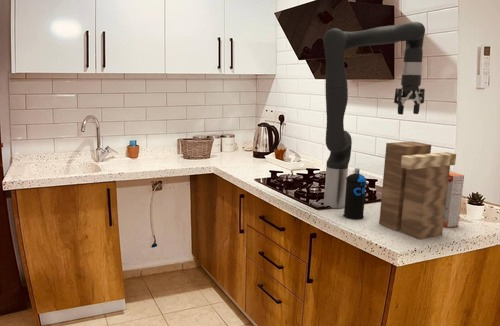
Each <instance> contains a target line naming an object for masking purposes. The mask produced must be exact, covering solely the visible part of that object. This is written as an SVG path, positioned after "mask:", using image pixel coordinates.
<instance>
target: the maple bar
mask: <svg viewBox="0 0 500 326" xmlns="http://www.w3.org/2000/svg"><path fill="white" fill-rule="evenodd" d="M456 160H457V154H456V153H453V152H447V151H445V152H437V153H436V152H435V153H430V154H419V155H406V156H402V160H401V167H402V168H406V169H419V168H429V167H440V166H450V167H451V166H455V165H456Z"/></svg>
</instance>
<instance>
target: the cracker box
mask: <svg viewBox="0 0 500 326" xmlns="http://www.w3.org/2000/svg"><path fill="white" fill-rule="evenodd" d="M464 182H465V175H464V174H461V173H457V172H454V171H451V170H450V172H449V180H448V189H447V197H446V206H445V214H444V223H443V228H454V227H459V223H460V214H461V205H462V198H463V189H464Z"/></svg>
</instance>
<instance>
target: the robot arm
mask: <svg viewBox="0 0 500 326" xmlns="http://www.w3.org/2000/svg"><path fill="white" fill-rule="evenodd" d="M424 25H425V24H423V23H422V22H420V21H413V22H407V23H401V24H396V25H395V24H392V25H386V26H385V25H383V26H377V27H373V28H369V29H363V30H358V31H344V30H341V29H340V28H337V27H335V28H331V29H328V30H327V31H326V33H325V34H324V36H323V49H324V54H325V55H324V56H325V84H324V85H325V108H326V109H325V111H326V129H325V145H326V146H325V147H326V148H327V150H328V151H329V152H330V153H329V156H328V158H327V160H326V167H325V168H326V169H325V170H326V171H325V183H324V194H323V195H324V196H323V207H327V206H330V207H331V209H342V208H344V207H345V194H346V178H347V177H348V171H349V170H348V169H349V163H350V161H351V156H352V155H351V153H352V143H353V138H352V136H351V134H350V133H349V131H347V130H345V129H344V128H345V127H344V119H345V118H344V117H345V113H346V109H347V105H348V101H349V98H348V97H349V92H348V91H349V87H348V79H347V74H346V73H347V72H346V68H345V51H346V50H349V49H352V48H358V47H364V46H365V47H367V46H376V45H377V46H378V45H389V44H395V43H399V42H405V49H404V53H403V64H402V70H401V80H400V81H401V83H400V85H401V86H402V87H401V88H399V87H397V88H395V93H394V101H393V103H394V104H396V105H397V115H404V111H405V110H404V108H405V105H404V104H405V103H406V102H407V101H408V100H411V101H412V102H413V112H412V113H413V114H414V115H418V114H419V113H420V106H421V105H422V104H424V103H425V88H420V86H421V85H422V84H421V83H422V73H423V55H424V54H423V52H424V51H423V46H424V39H425V33H426V28H425V26H424ZM330 207H329V208H330Z"/></svg>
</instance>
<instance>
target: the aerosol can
mask: <svg viewBox="0 0 500 326" xmlns="http://www.w3.org/2000/svg"><path fill="white" fill-rule="evenodd" d="M367 181H368V180H367V178H366V177H365V176H364V175H363V174H361V173H360V168H358V167H356V168H354V171H353V173H351V174H349V175H347V178H346V194H345V207H343V208H344V209H343V217H344V218H346V219H348V220H362V219H364V217H365V216H364V210H365V200H366V199H365V198H366V188H367V187H366V185H367Z"/></svg>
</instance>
